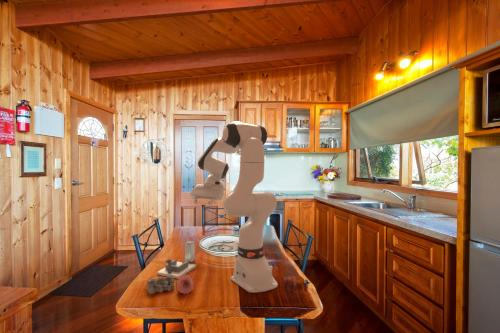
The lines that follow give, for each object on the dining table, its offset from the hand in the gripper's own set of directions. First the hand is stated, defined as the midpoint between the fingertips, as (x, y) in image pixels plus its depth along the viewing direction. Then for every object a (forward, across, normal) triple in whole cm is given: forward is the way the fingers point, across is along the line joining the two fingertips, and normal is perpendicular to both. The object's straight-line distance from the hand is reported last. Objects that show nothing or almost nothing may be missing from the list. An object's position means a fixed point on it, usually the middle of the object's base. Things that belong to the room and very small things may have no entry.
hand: (202, 204), depth 150 cm
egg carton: (+50, +6, -11) cm, 52 cm away
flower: (+49, +17, -10) cm, 53 cm away
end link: (+29, 0, +11) cm, 31 cm away
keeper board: (+38, +2, +1) cm, 38 cm away
